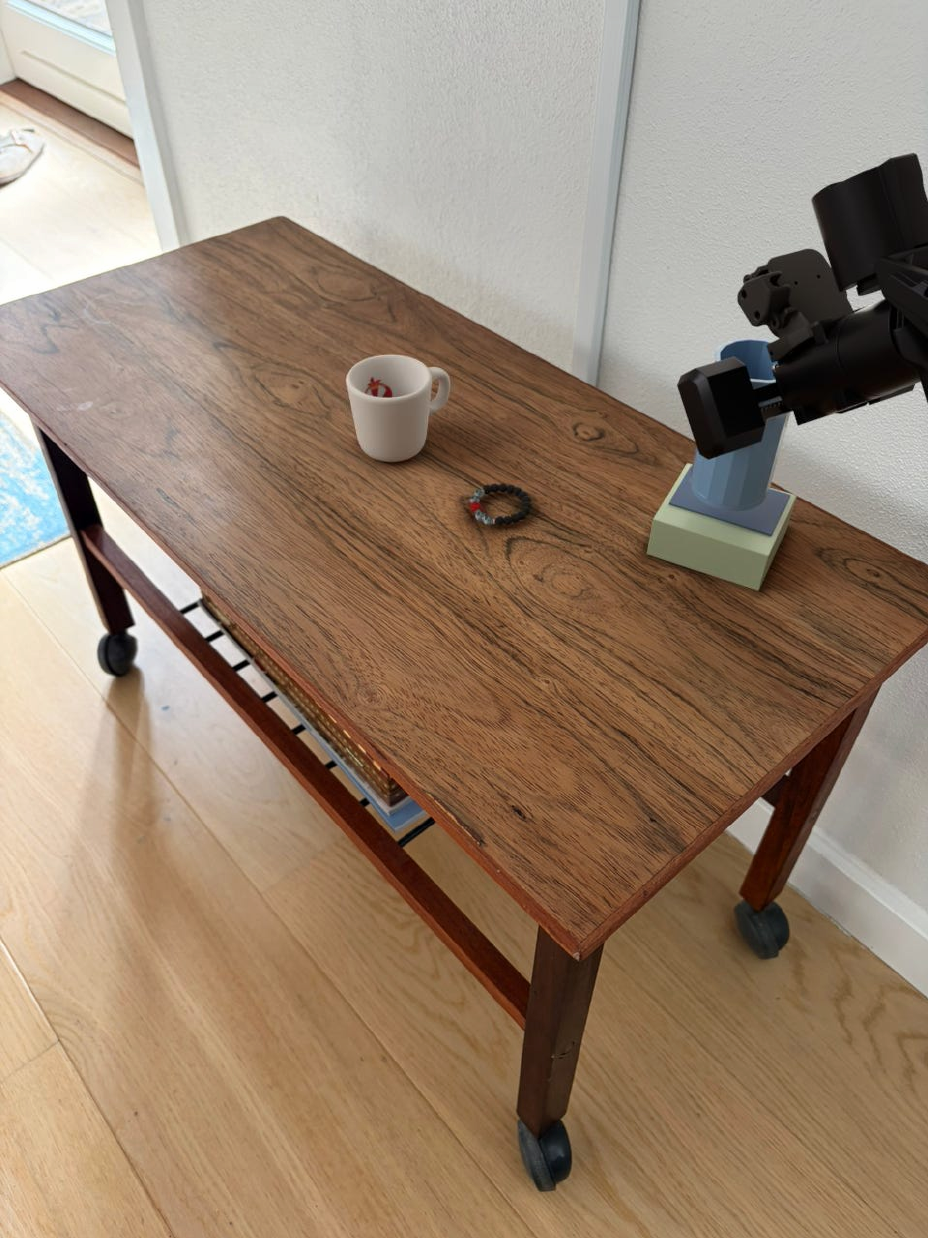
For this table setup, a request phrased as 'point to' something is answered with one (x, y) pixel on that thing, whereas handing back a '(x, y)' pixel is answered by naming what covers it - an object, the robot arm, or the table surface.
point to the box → (720, 534)
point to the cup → (394, 404)
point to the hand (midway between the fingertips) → (733, 411)
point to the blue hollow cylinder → (750, 469)
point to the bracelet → (507, 520)
